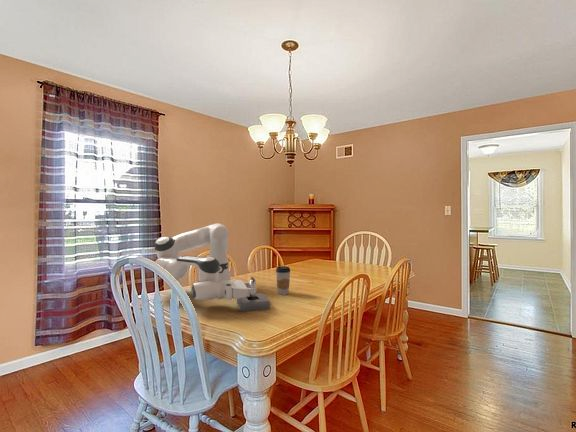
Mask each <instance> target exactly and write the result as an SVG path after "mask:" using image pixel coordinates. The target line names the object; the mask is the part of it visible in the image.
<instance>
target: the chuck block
mask: <svg viewBox="0 0 576 432" xmlns="http://www.w3.org/2000/svg"><path fill="white" fill-rule="evenodd" d="M236 304H237V307H238V309H239V311H240V312H241V313H242V312H243V313H244V312H252V311H254V312H255V311H262V310H263V311H264V310H270V308H271V301H270V299H269V298H268V297H267V296H266V295H265V293H256V299H255V300H250V293H249V294H248V296H247V297H244V298H236Z"/></svg>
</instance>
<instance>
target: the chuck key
mask: <svg viewBox="0 0 576 432" xmlns="http://www.w3.org/2000/svg"><path fill="white" fill-rule="evenodd" d="M249 283H250V287H249V288H253V287H256V288H257V284H256V283H257V280H256V279H255V278H254V277H253V276H250V279H249ZM256 292H257V291H256ZM256 292H252V293H249V294H250V300H255V299H256V294H257V293H256Z"/></svg>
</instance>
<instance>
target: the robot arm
mask: <svg viewBox="0 0 576 432" xmlns="http://www.w3.org/2000/svg"><path fill="white" fill-rule="evenodd" d="M205 245H209V256H196V255H195V256H194V255H181V256H180V255H179V253H183V252H188V251H190V250H194V249H195V250H196V249H197V248H201V247H203V246H205ZM153 246H154V250H155V253H156V257H157V259H156V260H155V261H154V263H155V262H156V263H157V264H159V265H160V266H162V267H163V268H164V269H166V270H167V271H168V272H169V273H170V274H171V275H172V276H173V277H174V278H175V279H176V280H175V281H179V280H182V279H183V278H185V276H186V275H187V273H188V272H189V268H190V266H193V267H194V266H195V267H197V268H198V281H197V282H193V283H192V284H191V289H190V290H191V296H192V298H193V299H194V300H196V301H209V300H210V301H211V300H214V299H219V300H222V299H223V300H226V301H232V300H234V299H236V300H237V298H244V297H247V296H248V294H250V293H252V292H257V289H258V288H257V286H256V287H253V288H250V282H246V281H245V282H244V281H243V280H242V279H235V280H232V279H231V278H232V277H231V271H230V270H229V262H228V247H229V230H228V228H227V226H226V225H224V224H222V223H217V222H216V223H213V224H210V225H206V226H203V227H200V228H196V229H193V230H189V231H185V232H182V233H180V234H177V235H175V236H173V237H170V236H162V237H161V236H160V237H159V238H157V239H156V240H155V242H154V244H153Z"/></svg>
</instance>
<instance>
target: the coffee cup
mask: <svg viewBox="0 0 576 432" xmlns="http://www.w3.org/2000/svg"><path fill="white" fill-rule="evenodd" d="M275 273H276V275H275V276H276V288H277V291H276V292H277V294H278V295H282V296H284V295H288V294H289V293H290V278H291V277H290V276H291V267H289V266H285V265H283V266H276V268H275Z"/></svg>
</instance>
